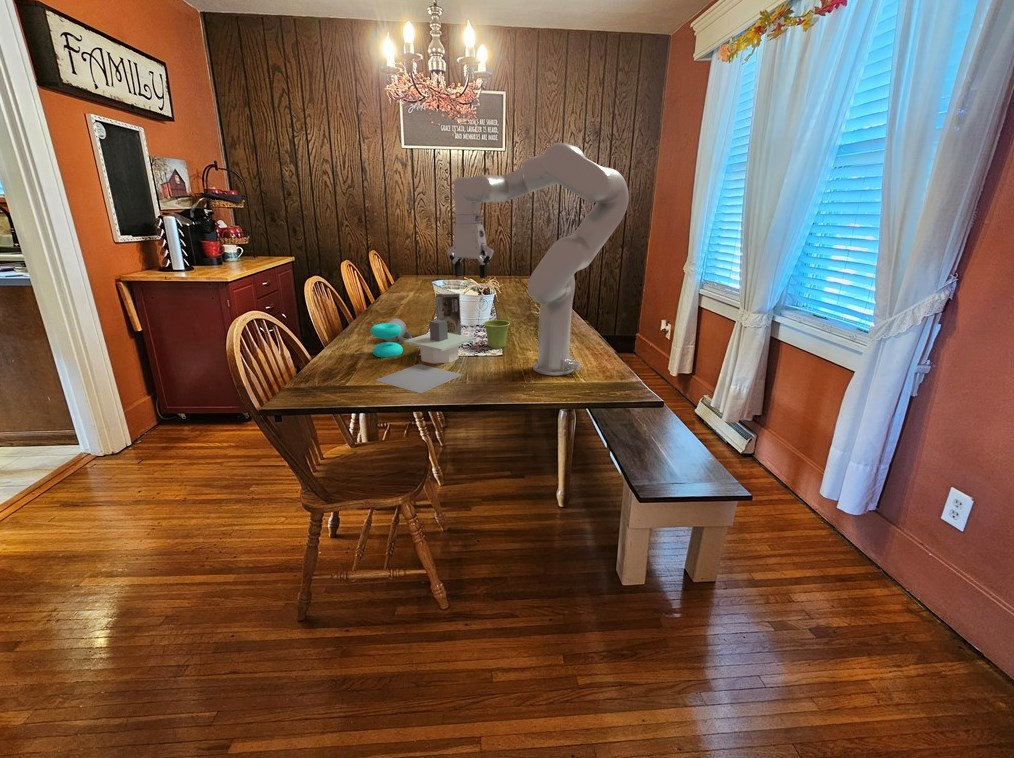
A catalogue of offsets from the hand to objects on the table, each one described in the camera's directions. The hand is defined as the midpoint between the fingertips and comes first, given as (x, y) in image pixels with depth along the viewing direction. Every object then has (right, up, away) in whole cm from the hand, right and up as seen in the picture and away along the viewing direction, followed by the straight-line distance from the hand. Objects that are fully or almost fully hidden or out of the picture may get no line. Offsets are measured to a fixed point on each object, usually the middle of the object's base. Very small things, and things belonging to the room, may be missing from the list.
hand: (471, 276), depth 153 cm
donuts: (-29, -24, +10) cm, 39 cm away
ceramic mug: (-29, -18, +27) cm, 44 cm away
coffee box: (-11, -16, +33) cm, 38 cm away
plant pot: (+8, -21, +20) cm, 30 cm away
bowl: (-11, -26, +5) cm, 29 cm away
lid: (-11, -20, +3) cm, 23 cm away
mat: (-14, -33, -13) cm, 38 cm away
